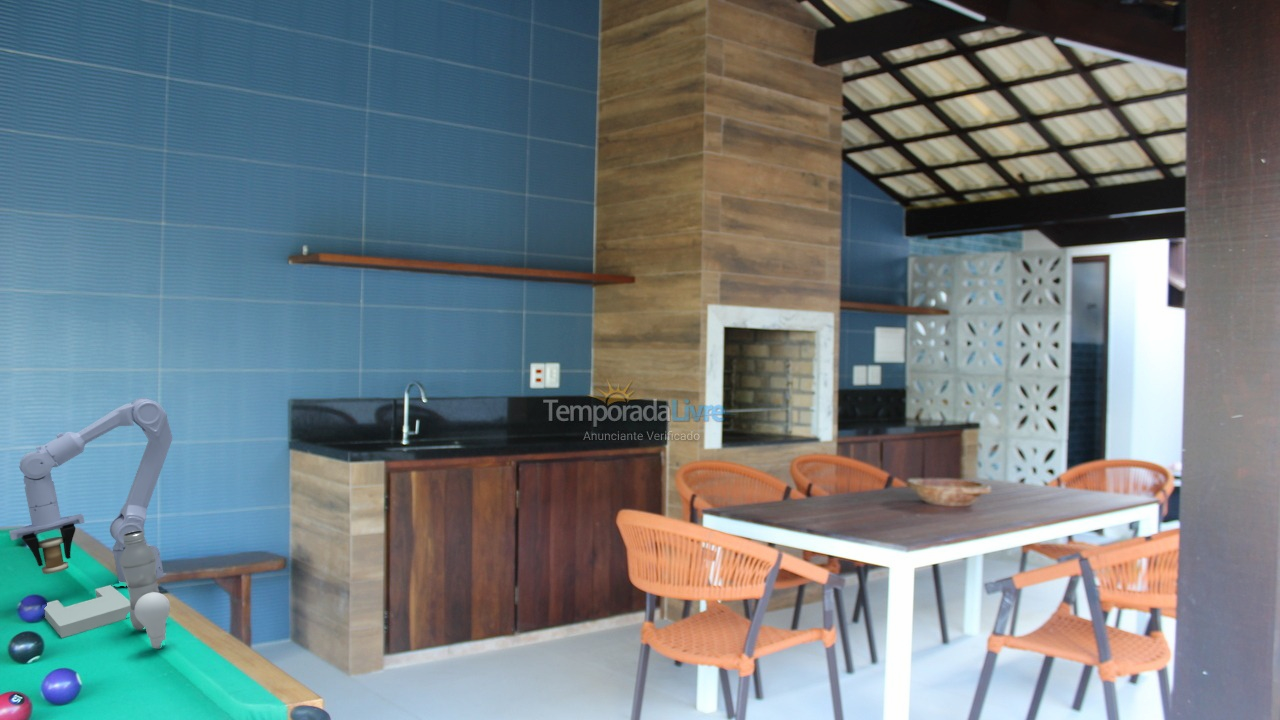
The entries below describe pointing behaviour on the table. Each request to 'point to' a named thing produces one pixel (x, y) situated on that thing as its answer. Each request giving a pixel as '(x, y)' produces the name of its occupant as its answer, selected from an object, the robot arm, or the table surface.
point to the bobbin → (52, 555)
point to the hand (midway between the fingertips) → (54, 561)
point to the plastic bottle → (138, 570)
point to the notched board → (88, 612)
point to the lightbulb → (153, 616)
